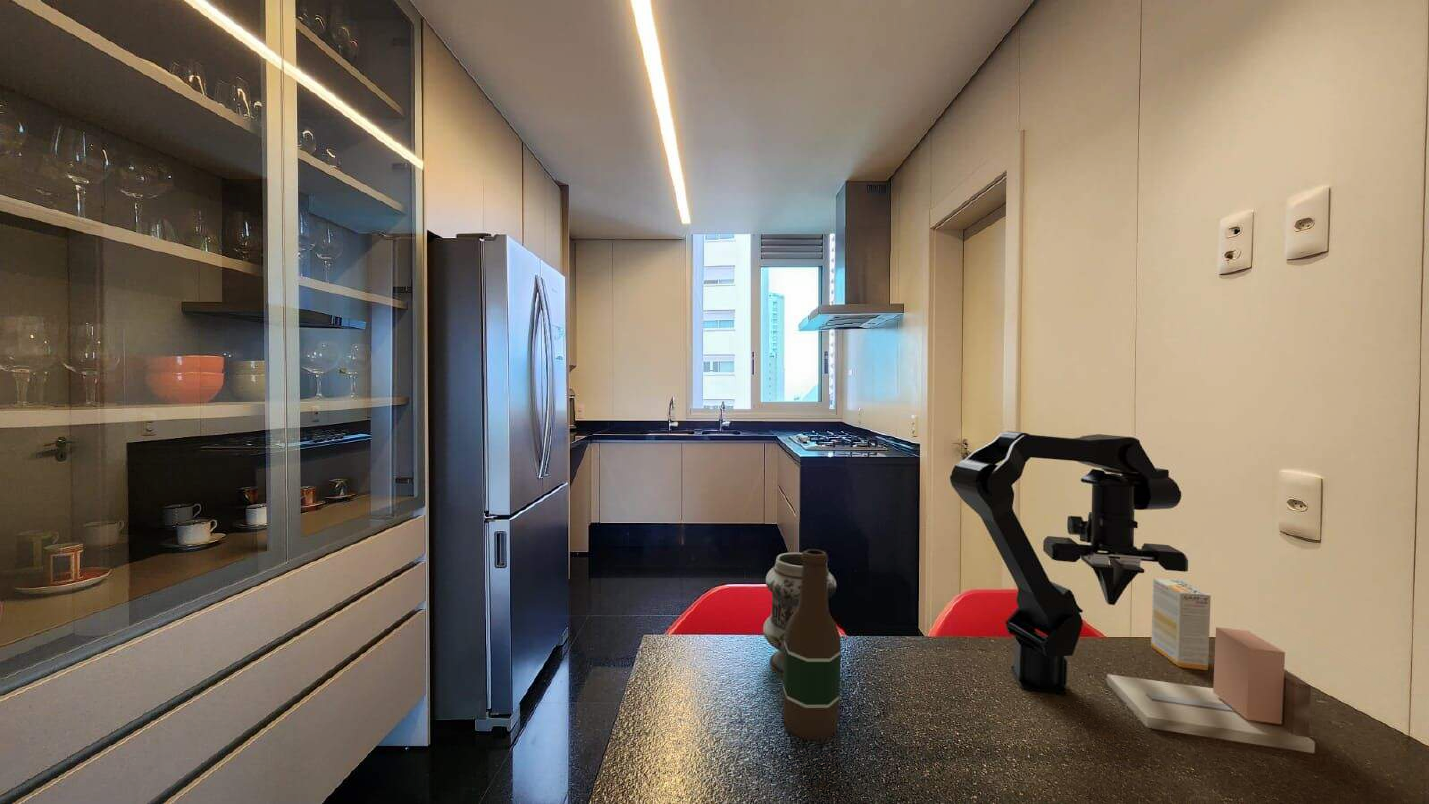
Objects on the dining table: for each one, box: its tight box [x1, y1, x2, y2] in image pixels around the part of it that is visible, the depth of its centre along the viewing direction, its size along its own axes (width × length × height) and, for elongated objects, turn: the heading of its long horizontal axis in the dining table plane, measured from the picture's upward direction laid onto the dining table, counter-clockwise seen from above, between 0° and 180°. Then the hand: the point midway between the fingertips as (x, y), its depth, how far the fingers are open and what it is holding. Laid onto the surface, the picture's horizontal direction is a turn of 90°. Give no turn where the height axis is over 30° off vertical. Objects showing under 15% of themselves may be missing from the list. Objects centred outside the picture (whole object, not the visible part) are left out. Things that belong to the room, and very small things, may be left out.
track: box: [1106, 668, 1316, 754], centre depth 79 cm, size 19×12×8 cm, turn 76°
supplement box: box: [1150, 578, 1212, 671], centre depth 96 cm, size 8×5×13 cm, turn 168°
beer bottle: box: [781, 548, 842, 741], centre depth 73 cm, size 8×8×24 cm
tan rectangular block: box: [1212, 626, 1286, 724], centre depth 77 cm, size 4×7×10 cm, turn 166°
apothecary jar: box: [762, 552, 837, 677], centre depth 90 cm, size 12×12×18 cm
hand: (1110, 604), depth 89 cm, fingers closed
